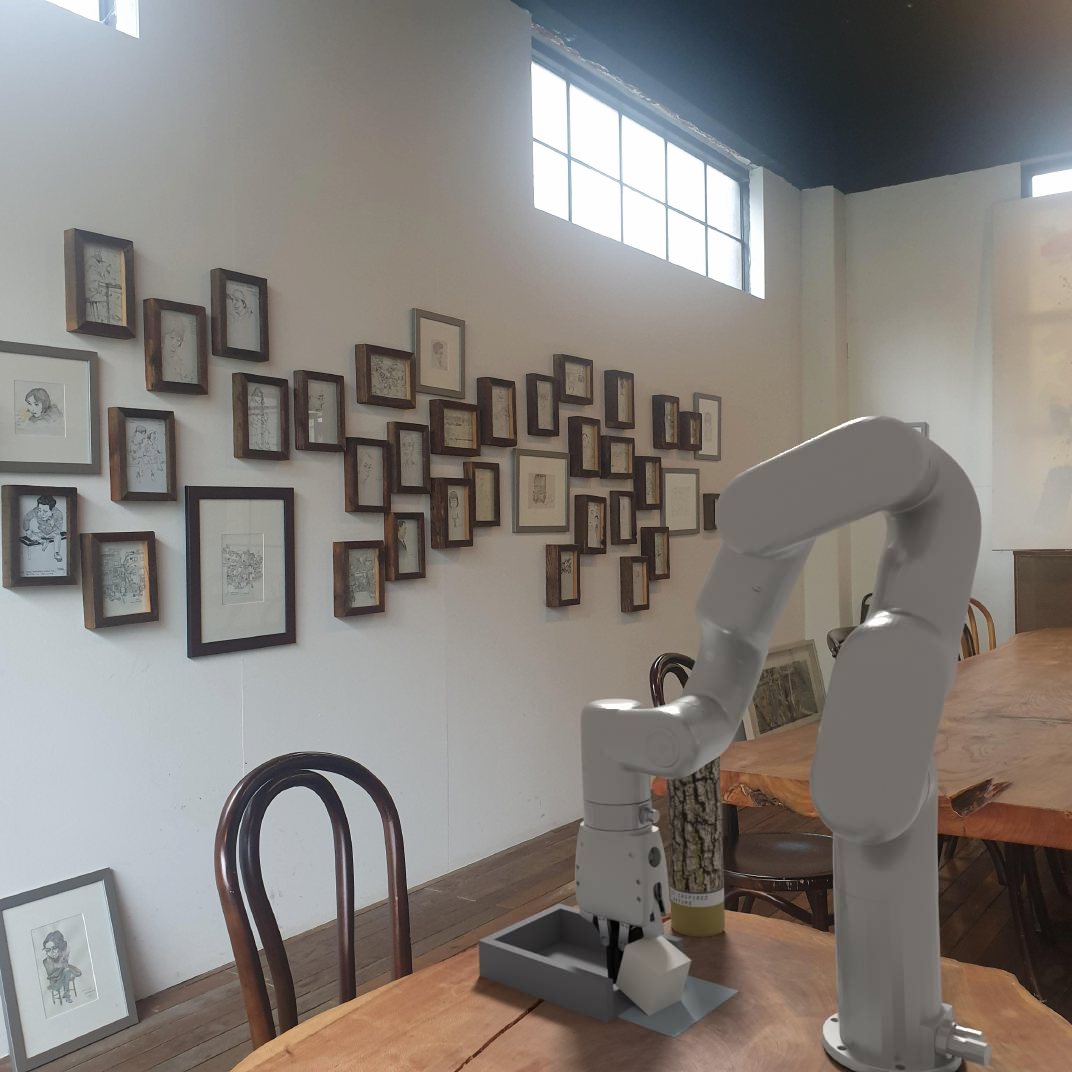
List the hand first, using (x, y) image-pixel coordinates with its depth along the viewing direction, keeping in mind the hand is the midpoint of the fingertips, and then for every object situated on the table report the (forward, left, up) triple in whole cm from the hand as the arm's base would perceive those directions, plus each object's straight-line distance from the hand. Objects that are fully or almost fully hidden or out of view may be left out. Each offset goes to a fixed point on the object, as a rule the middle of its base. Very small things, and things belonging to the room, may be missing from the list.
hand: (622, 980), depth 106 cm
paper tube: (+3, -20, -2) cm, 20 cm away
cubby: (+2, 0, -1) cm, 3 cm away
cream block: (-4, +1, 0) cm, 4 cm away
